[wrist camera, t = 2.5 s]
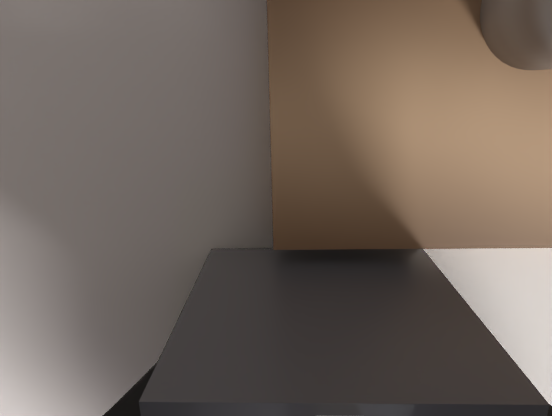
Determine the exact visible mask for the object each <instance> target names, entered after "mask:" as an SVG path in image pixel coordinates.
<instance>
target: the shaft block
mask: <svg viewBox="0 0 552 416" xmlns="http://www.w3.org/2000/svg"><path fill="white" fill-rule="evenodd" d="M267 24H268V62H269V100H270V138H271V176H272V214H273V250H319V249H453V248H552V0H267Z"/></svg>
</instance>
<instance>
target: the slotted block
mask: <svg viewBox="0 0 552 416" xmlns="http://www.w3.org/2000/svg"><path fill="white" fill-rule="evenodd" d="M139 407H140V413H141V416H547V414H548V409H549V404H548V402H547V401H546V400H545V399H544V397H543V396H542V395H541V394H540V393H539V391H538V390H537V389H536V388H535V386H534V385H533V384H532V383H531V381H530V380H529V379H528V378H527V377H526V375H525V374H524V373H523V372H522V370H521V369H520V368H519V367H518V366H517V364H516V363H515V362H514V361H513V359H512V358H511V357H510V356H509V354H508V353H507V352H506V351H505V350H504V348H503V347H502V346H501V345H500V343H499V342H498V341H497V340H496V338H495V337H494V336H493V335H492V334H491V332H490V331H489V330H488V329H487V327H486V326H485V325H484V324H483V322H482V321H481V320H480V319H479V318H478V316H477V315H476V314H475V313H474V311H473V310H472V309H471V308H470V306H469V305H468V304H467V303H466V302H465V300H464V299H463V298H462V297H461V295H460V294H459V293H458V292H457V291H456V289H455V288H454V287H453V286H452V284H451V283H450V282H449V281H448V279H447V278H446V277H445V276H444V275H443V273H442V272H441V271H440V270H439V268H438V267H437V266H436V265H435V263H434V262H433V261H432V260H431V259H430V257H429V256H428V255H427V254H426V252H425V251H424V250H423V249H319V250H273V249H211V251H210V253H209V255H208V257H207V260H206V262H205V264H204V266H203V268H202V270H201V272H200V274H199V276H198V278H197V281H196V283H195V285H194V287H193V289H192V291H191V293H190V295H189V297H188V299H187V302H186V304H185V306H184V308H183V310H182V312H181V314H180V316H179V318H178V320H177V323H176V325H175V327H174V329H173V331H172V333H171V335H170V337H169V339H168V341H167V344H166V346H165V348H164V350H163V352H162V354H161V356H160V358H159V360H158V362H157V365H156V367H155V369H154V371H153V373H152V375H151V377H150V379H149V381H148V383H147V386H146V388H145V390H144V392H143V394H142V396H141V398H140V400H139Z"/></svg>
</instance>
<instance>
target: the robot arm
mask: <svg viewBox="0 0 552 416" xmlns="http://www.w3.org/2000/svg"><path fill="white" fill-rule="evenodd" d="M156 365H157V363H156V364H155V365H154V366H153V367H152V368H151V369H150V370H149V371H148V372H147V373H146V374H145V375H144V376H143V377H142V378H141V379H140V380H139V381H138V382H137V383H136V384H135V385H134V386H133V387H132V388H131V389H130V390H129V391H128V392H127V393H126V394H125V395H124V396H123V397H122V398H121V399H120V400H119V401H118V402H117V403H116V404H115V405H114V406H113V407H112V408H111V409H110V410H109V411H107V412H106V413H105V414H104V415H103V416H141V413H140V407H139V400H140V398H141V396H142V394H143V392H144V390H145V388H146V386H147V383H148V381H149V379H150V377H151V375H152V373H153V371H154V369H155V367H156ZM547 416H552V406H551V405H550V404H549V409H548V414H547Z"/></svg>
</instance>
